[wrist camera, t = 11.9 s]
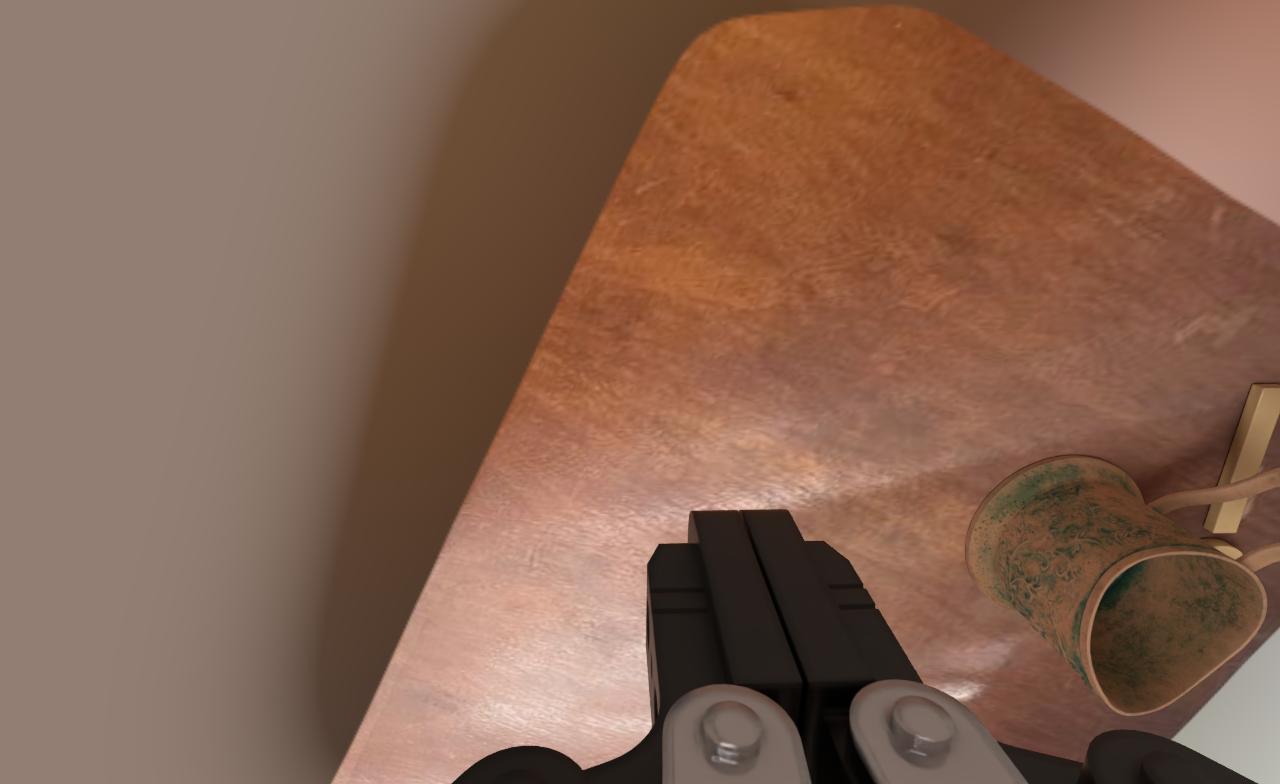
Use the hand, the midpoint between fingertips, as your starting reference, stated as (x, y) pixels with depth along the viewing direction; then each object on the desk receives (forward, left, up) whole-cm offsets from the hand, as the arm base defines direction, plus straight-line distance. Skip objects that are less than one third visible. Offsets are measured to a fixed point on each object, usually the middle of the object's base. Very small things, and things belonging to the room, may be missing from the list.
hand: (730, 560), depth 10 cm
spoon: (+14, +38, -27) cm, 49 cm away
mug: (+14, +29, -27) cm, 42 cm away
